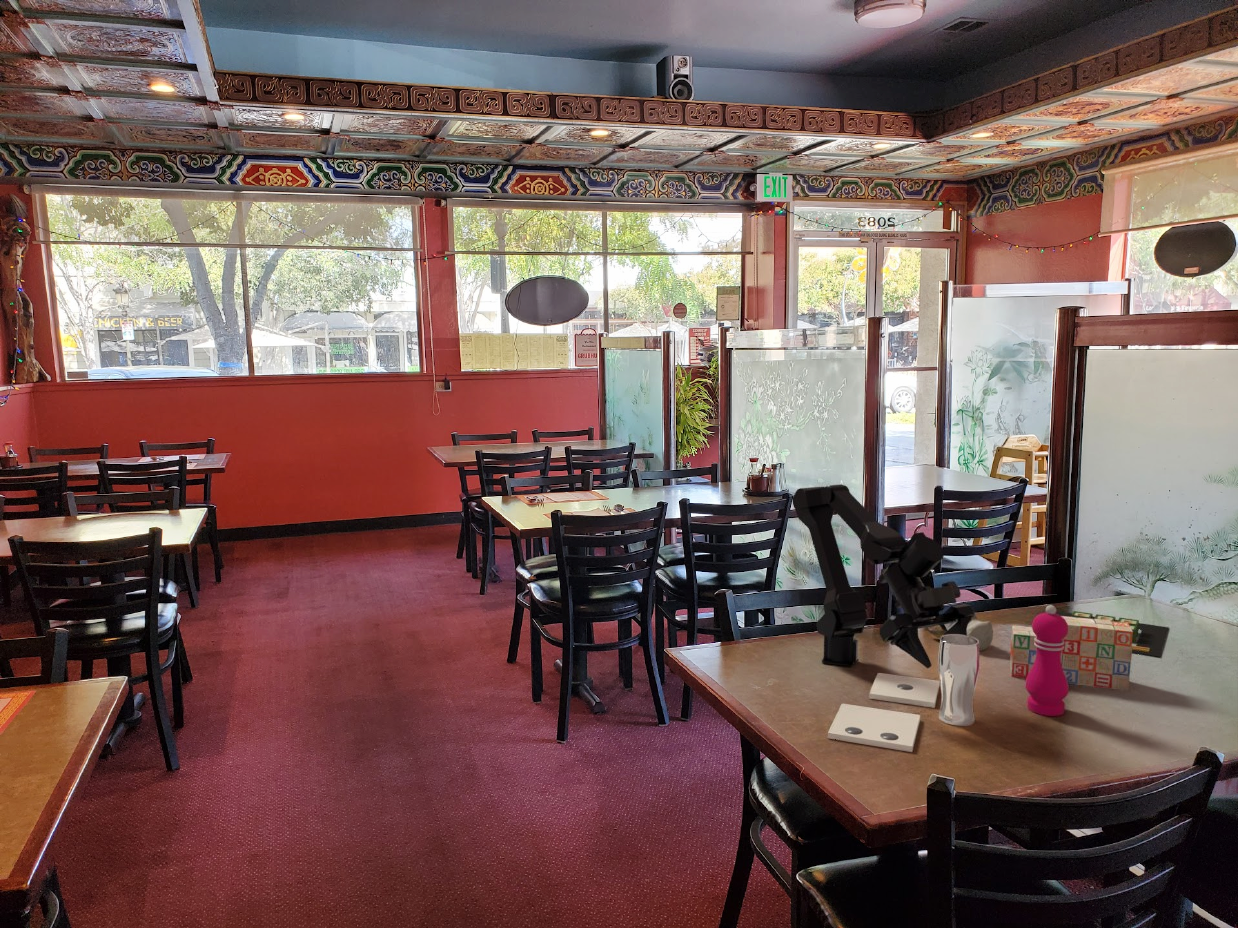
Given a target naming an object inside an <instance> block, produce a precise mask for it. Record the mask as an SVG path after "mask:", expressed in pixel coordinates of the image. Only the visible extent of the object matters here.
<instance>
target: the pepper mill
mask: <svg viewBox="0 0 1238 928" xmlns="http://www.w3.org/2000/svg"><path fill="white" fill-rule="evenodd" d="M1056 611H1057V608H1056V606H1054V605H1052V604H1050V605H1047V606H1046V608H1045V612H1043V613H1040V614H1038V615H1036V616H1035V617H1034V618H1033V620H1032V623H1031V627H1032V629H1033V632H1034V633H1035V635H1036V636H1037V637H1035V638H1034V640H1035V643H1034V645H1035V646H1036V650H1037V653H1036V659H1035V662H1034V664H1033V666H1032V668H1031V670H1030V672H1029V673H1028V676H1027V678H1025V685H1024V686H1025V689H1026V691H1027V693H1028V694H1029V696H1028V698H1027V705H1026V706H1027V707H1026V708H1027V709H1028V710H1029V711H1031V712H1032V713H1035V714H1038V715H1040V716H1046V717H1058V716H1062V715H1064V713H1065V708H1066V707H1065V705H1066V704H1065V701H1063V700H1064V699H1065V698H1066V697H1067V696H1068V694H1069V692H1070V691H1069V683H1068V682H1067V679H1066V676H1065V674H1064V672H1063V669H1062V665H1061V650H1063V649H1064V641H1063V638H1064V637H1066V635H1067V633H1068V624H1067V622H1066V620H1065V619H1064V618H1063V617H1061V616H1060V615H1058V614H1055V613H1056Z"/></svg>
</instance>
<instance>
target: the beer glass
mask: <svg viewBox="0 0 1238 928" xmlns="http://www.w3.org/2000/svg"><path fill="white" fill-rule="evenodd" d="M939 640H940V641H939V647H938V656H937V658H938V659H937V669H938V679H939V681H940V686H939V687H940V692H941V703H940V708H939V712H938V718H939V720H940V721H941V722H942V723H946V724H947V725H951V726H956V727H957V726H958V727H966V726H971V725H973V724H975V715H974V714H975V713H974V707H973V702H974V695H975V691H976V686H977V682H978V678H979V673H980V658H981V657H980V650H979V641H978V640H977V639H976V638H974V637H971V636H967V635H961V634H947V635H943V636H941V637H940V638H939Z"/></svg>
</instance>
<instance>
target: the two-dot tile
mask: <svg viewBox="0 0 1238 928" xmlns="http://www.w3.org/2000/svg"><path fill="white" fill-rule="evenodd" d="M920 723H921V714H916V713H915V714H914V713H910V712H901V711H896V710H895V711H894V710H888V709H881V708H875V707H868V706H863V705H862V706H861V705H854V704H848V703H841V705H840V706H839V709H838V710H837V713H836V715H835V717H834V719H833V721H832V723H831V726H830V728H829V730H828V732H827V739H831V740H835V739H836V741H841V742H848V743H854V744H861V745H866V746H872V747H878V748H885V749H892V750H896V751H903V752H909V753H913V750H914V746H915V743H916V738H917V734H918V731H919V727H920Z"/></svg>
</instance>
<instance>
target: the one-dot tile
mask: <svg viewBox="0 0 1238 928" xmlns="http://www.w3.org/2000/svg"><path fill="white" fill-rule="evenodd" d="M940 687H941V686H940V680H933V679H927V678H919V677H913V676H911V677H910V676H904V675H895V674H891V673H882V672H877V675H876V676H875V679H874V681H873V684H872V686H871V688H870V690H869V695H868V697H869V698H868V699H870V700H871V699H872V700H878V701H884V702H886V701H887V702H892V703H899V704H906V705H913V706H920V707H925V708H927V707H928V708H933V709H935V708H936V705H937V700H938V699H937V698H938V695H939V690H940Z"/></svg>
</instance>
